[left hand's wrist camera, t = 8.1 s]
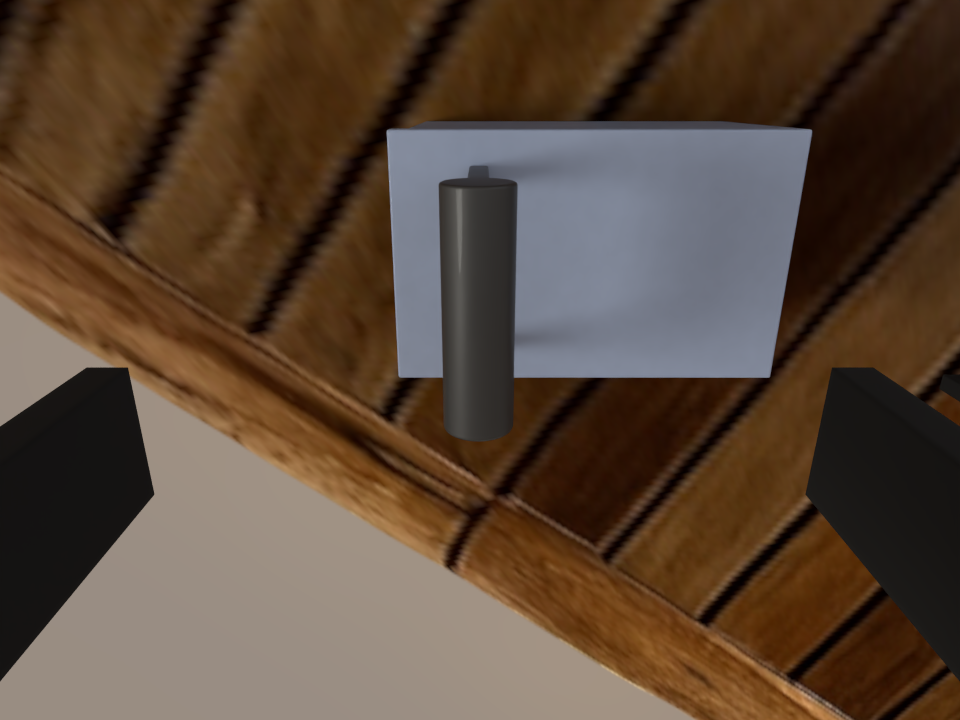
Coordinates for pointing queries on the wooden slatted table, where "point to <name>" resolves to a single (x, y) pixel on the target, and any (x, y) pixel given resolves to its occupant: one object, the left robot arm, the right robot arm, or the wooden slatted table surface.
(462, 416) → the lid
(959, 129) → the wooden slatted table surface
